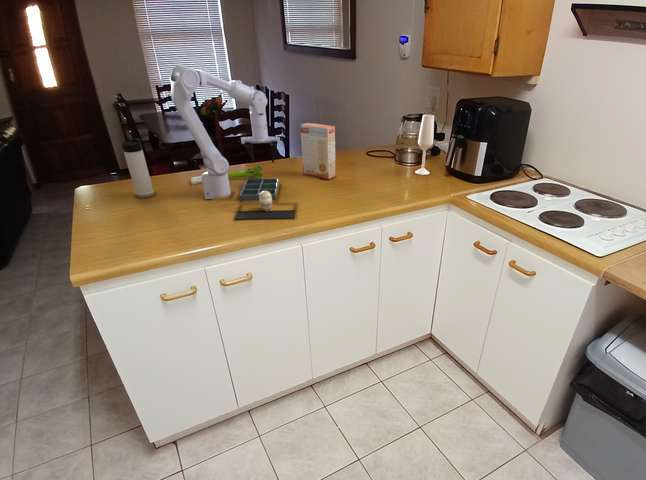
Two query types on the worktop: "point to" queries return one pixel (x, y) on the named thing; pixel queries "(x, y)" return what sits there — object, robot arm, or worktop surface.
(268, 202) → the egg
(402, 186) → the worktop surface
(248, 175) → the celery
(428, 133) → the champagne flute
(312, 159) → the cracker box
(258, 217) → the mat
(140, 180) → the travel mug
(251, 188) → the teal compartment tray
